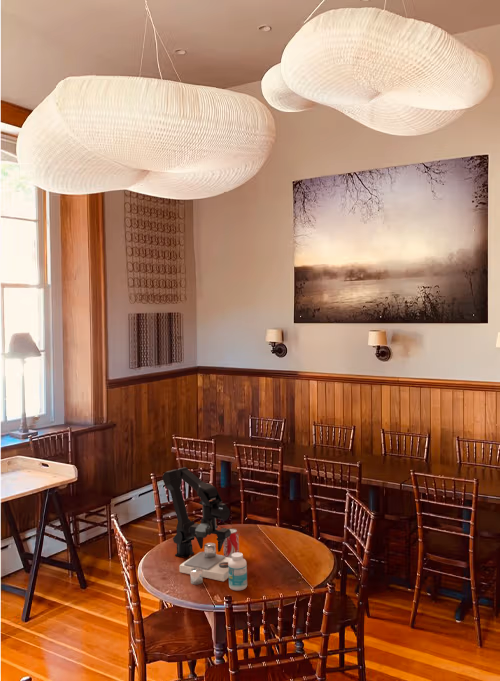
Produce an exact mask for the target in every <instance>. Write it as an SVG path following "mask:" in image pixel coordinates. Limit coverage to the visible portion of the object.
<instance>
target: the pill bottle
mask: <svg viewBox="0 0 500 681" xmlns="http://www.w3.org/2000/svg"><path fill="white" fill-rule="evenodd" d="M231 558H232V559H230V560H229V562H228V571H229V578H228V587H229V588H230V590H232V591H243V590H245V589H246V588H247V586H248V569H247V567H248V565H247V563H248V562H247V560H246V559H245V558H244V555H243V553H242V552H240V551H239V552H236V553H233V554H232V555H231Z"/></svg>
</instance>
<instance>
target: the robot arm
mask: <svg viewBox="0 0 500 681" xmlns="http://www.w3.org/2000/svg"><path fill="white" fill-rule="evenodd" d="M162 482H163V483H164V486H165V488H166V489H167V490H168V491H169V493H170V496H171V500H172V504H173V508H174V511H175V516H176V519H177V525H176V528H175V529H176V534H175V535H174V537H173V538H172V540H173V543H174V544H176V553H175V554H174V556H175V557H180V558H184V559H186V558H189V556H192V555H193V554H194V553H195V552H194V551H193V544H192V541H194V540H195V539H196V541H197V543H198V546H199V548H200V549H202V550H203V548H204V539H205V538H207V536H210V535H211V534H213V535H216V541H217V551H218V553H219V552H221V550H222V549H223V543H224V541H225V539H226V538H227V537H229V536H230V535H231V531H230V529H231V528H225V527H221V529H218V525H217V519H218V520H222V521H226V520H228V519H229V518H230V515H231V511H230V508H229V507H228V506H227V503H223V499H222V497H221V496H220V493H219V492H218V489H217V488H216V486H214V485H212V484H211V483H208V482H204V481H202V480H201V479H200V478H199V477H198V476H197V475H195V474H194V473H193V472H191V471H190V470H189V468H188V467H186V466H184V467H181V468H177V469H172V470H168V471H165V472H164V473H163V475H162ZM183 482H185V483H186V484H187V485H189V486H190V487H191V488H192V489H193V490H194V491H196V494H197V496H198V497H199V499H200V501H199V502H198V504H199V505H202V518H200V523H196V522H195V521H194V520H191V519H190V518H189V515H188V512H187V508H186V504H185V501H184V496H183V493H182V490H181V488H182V487H181V486H182V483H183Z"/></svg>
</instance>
